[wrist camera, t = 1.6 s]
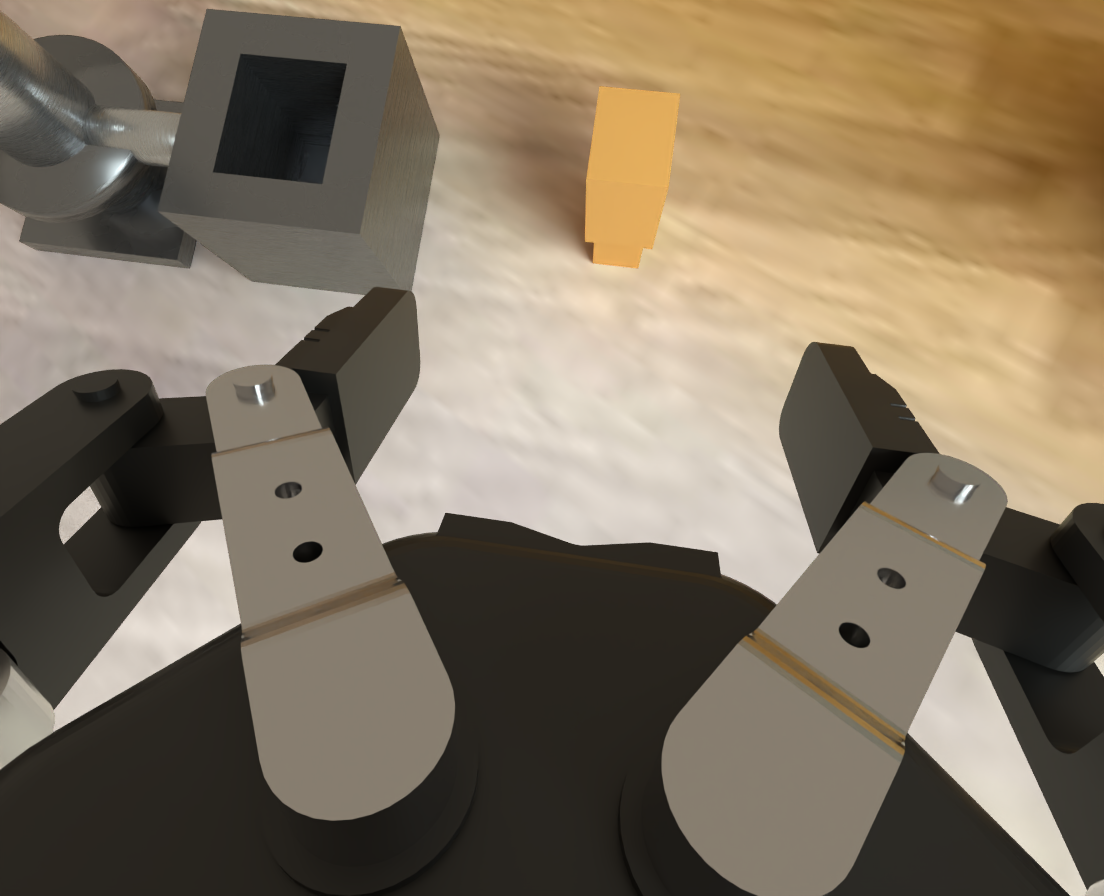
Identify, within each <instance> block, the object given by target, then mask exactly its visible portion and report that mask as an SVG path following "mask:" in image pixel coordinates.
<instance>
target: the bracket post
mask: <svg viewBox="0 0 1104 896" xmlns="http://www.w3.org/2000/svg"><path fill="white" fill-rule="evenodd" d="M438 141H439V132H438V130H437V127H436V124H435V121H434V119H433V116H432V113H431V110H430V107H429V105H428V102H427V99H426V96H425V93H424V91H423V88H422V85H421V82H420V79H419V77H418V74H417V71H416V68H415V66H414V63H413V60H412V57H411V54H410V52H409V49H408V46H407V43H406V40H405V38H404V35H403V32H402V29H401V26H393V25H382V24H370V23H359V22H348V21H337V20H325V19H314V18H303V17H292V16H281V15H269V14H258V13H247V12H236V11H224V10H213V9H207V10H206V14H205V18H204V22H203V26H202V30H201V34H200V39H199V43H198V47H197V51H196V55H195V59H194V63H193V67H192V71H191V75H190V80H189V84H188V88H187V92H186V96H185V100H184V103H181V102H171V101H161V100H154V99H153V97H152V95H151V93H150V91H149V89H148V88H147V86H146V85H145V83H144V82H143V81H142V80H141V79H140V77H139V76H138V75H137V74H136V73H135V72H134V71H133V70H132V69H131V68H130V67H129V66H128V65H127V64H126V63H125V62H124V61H123V60H122V59H121V58H120V57H119V56H118V55H117V54H115V53H114V52H113V51H112V50H110V49H109V48H107V47H106V46H104V45H102V44H100V43H98V42H96V41H94V40H90V39H87V38H84V37H79V36H72V35H54V36H46V37H41V38H37V39H32V38H31V37H30V36H29V35H28V34H27V33H26V32H25V31H23V30H22V29H21V28H20V27H19V26H18V25H17V24H16V23H14V22H13V21H12V20H11V19H10V18H9V17H8V16H7V15H5V14H4V13H3V12H2V11H1V10H0V203H1V204H3V205H5V206H7V207H8V208H10V209H12V210H14V211H16V212H18V213H20V214H22V215H24V216H26V218H25V222H24V226H23V229H22V233H21V237H20V240H19V241H20V242H22V243H24V244H26V245H28V246H29V247H31V248H33V249H35V250H40V251H48V252H57V253H65V254H73V255H82V256H90V257H98V258H107V259H115V260H123V261H132V262H140V263H148V264H157V265H165V266H173V267H182V268H190V266H191V262H192V257H193V253H194V249H195V244H196V240H197V241H198V242H199V243H201V244H202V245H203V246H205V247H206V248H207V249H209V250H210V251H212V252H213V253H214V254H216V255H217V256H218V257H220V258H221V259H222V260H224V261H225V262H226V263H228V264H229V265H230V266H232V267H233V268H234V269H236V270H237V271H238V272H240V273H241V274H243V275H244V276H245V277H247V278H248V279H249V280H251V281H254V282H262V283H270V284H278V285H287V286H295V287H303V288H312V289H320V290H328V291H336V292H345V293H353V294H361V295H366V294H367V293H368V292H369V291H370V290H371V289H372V288H373V287H383V288H391V289H399V290H407V291H411V290H412V285H413V279H414V273H415V268H416V262H417V257H418V251H419V246H420V240H421V235H422V229H423V224H424V218H425V213H426V207H427V202H428V196H429V191H430V185H431V180H432V174H433V169H434V163H435V158H436V152H437V147H438Z"/></svg>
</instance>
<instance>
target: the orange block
mask: <svg viewBox="0 0 1104 896" xmlns="http://www.w3.org/2000/svg"><path fill="white" fill-rule="evenodd" d="M679 100H680V94H677V93H667V92H656V91H645V90H635V89H624V88H613V87H603V86H600V88H599V94H598V101H597V108H596V115H595V122H594V129H593V136H592V143H591V150H590V157H589V164H588V170H587V177H586V215H585V242H593V243H594V251H593V263H596V264H605V265H613V266H622V267H631V268H638V267H639V263H640V258H641V254H642V250H643V248H646V249H652V248H653V244H654V240H655V236H656V233H657V229H658V225H659V221H660V218H661V214H662V210H663V206H664V202H665V199H666V195H667V191H668V187H669V179H670V171H671V163H672V155H673V147H674V140H675V132H676V124H677V116H678V108H679Z"/></svg>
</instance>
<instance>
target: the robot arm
mask: <svg viewBox="0 0 1104 896" xmlns="http://www.w3.org/2000/svg"><path fill="white" fill-rule="evenodd" d="M419 373H420V350H419V337H418V323H417V309H416V301H415V297H414V294H413V293H412V292H411V291H407V290H399V289H391V288H383V287H373V288H372V289H371V290H370V291H369V292H368V293H367V294H366V295H365V296H364V297H363V298H362V299H361V300H360V301H359V302H358V303H357V304H356V305H355V306H354V307H346V308H344V309H342V310H339V311H337V312H335V313H333V314H330V315H328V316H327V317H325V318H324V319H323V320H322V321H321V322H320V323H319V324H318V325H317V326H316V327H315V330H312V331H311V332H310V333H308V334H307V335H306V336H305V337H304V340H301V341H300V342H299V343H298V344H297V345H296V346H295V347H294V348H293V349H291V350H290V351H289V352H288V353H287V354H286V355H285V356H284V357H283V358H282V359H281V360H280V361H279V362H278V363H277V364H275V365H254V366H247V367H242V368H238V369H235V370H232V371H229V372H227V373H225V374H223V375H221V376H219V377H218V378H216V379H215V380H213V381H212V382H211V383H210V384H209V386H208V387H207V390H206V396H201V397H182V398H162V399H159V398H158V395H157V393H156V390H155V388H154V385H153V383H152V381H151V379H150V377H148V376H147V375H146V374H143V373H141V372H138V371H133V370H122V369H120V370H105V371H98V372H93V373H89V374H85V375H82V376H78V377H75V378H73V379H70V380H68V381H66V382H64V383H61V384H60V385H58V386H56V387H55V388H53V389H52V390H50V391H49V392H47V393H46V394H44V395H43V396H42V397H40V398H39V399H37V400H36V401H34V402H33V403H31V404H30V405H28V406H27V407H25V408H24V409H23V410H21V411H20V412H18V413H17V414H15V415H14V416H12V417H11V418H9V419H8V420H6V421H5V422H4V423H2V424H1V425H0V896H1070V895H1069V894H1068V893H1067V892H1066V891H1065V890H1064V889H1063V888H1062V887H1061V886H1060V885H1059V884H1058V883H1057V882H1056V881H1055V880H1054V879H1053V878H1052V877H1051V876H1050V875H1049V874H1048V873H1047V872H1046V871H1045V870H1044V869H1043V868H1042V867H1041V866H1040V865H1039V864H1038V863H1037V862H1036V861H1035V860H1034V859H1033V858H1032V857H1031V856H1030V855H1029V854H1028V853H1027V852H1026V851H1025V850H1024V849H1023V848H1022V847H1021V846H1020V845H1019V844H1018V843H1017V842H1016V841H1015V840H1014V839H1013V838H1012V837H1011V836H1010V835H1009V834H1008V833H1007V832H1006V831H1005V830H1004V829H1003V828H1002V827H1001V826H1000V825H999V824H998V823H997V822H996V821H995V820H994V819H993V818H992V817H991V816H990V815H989V814H988V813H987V812H986V811H985V810H984V809H983V808H982V807H981V806H980V805H979V804H978V803H977V802H976V801H975V800H974V799H973V798H972V797H971V796H970V795H969V794H968V793H967V792H966V791H965V790H964V789H963V788H962V787H961V786H960V785H959V784H958V783H957V782H956V781H955V780H954V779H953V778H952V777H951V776H950V775H949V774H948V773H947V772H946V771H945V770H944V769H943V768H942V767H941V766H940V765H939V764H938V763H937V762H936V761H935V760H934V759H933V758H932V757H931V756H930V755H929V754H928V753H927V752H926V751H925V750H924V749H923V748H922V747H921V746H920V745H919V744H918V743H917V742H916V741H915V740H914V739H913V738H912V737H911V736H910V735H909V734H908V733H907V732H908V730H909V727H910V725H911V723H912V721H913V719H914V717H915V715H916V713H917V711H918V709H919V706H920V704H921V702H922V700H923V698H924V696H925V694H926V692H927V690H928V688H929V686H930V683H931V681H932V679H933V677H934V675H935V673H936V671H937V669H938V667H939V665H940V662H941V660H942V658H943V656H944V654H945V652H946V650H947V648H948V646H949V644H950V642H951V639H952V637H953V635H954V633H955V632H958V633H960V634H963V635H966V636H968V637H971V638H972V640H973V643H974V646H975V648H976V650H977V652H978V654H979V656H980V659H981V661H982V663H983V665H984V667H985V669H986V672H987V674H988V676H989V678H990V680H991V682H992V685H993V687H994V689H995V691H996V693H997V695H998V698H999V700H1000V702H1001V704H1002V706H1003V709H1004V711H1005V713H1006V715H1007V717H1008V719H1009V722H1010V724H1011V726H1012V728H1013V730H1014V732H1015V735H1016V737H1017V739H1018V741H1019V743H1020V745H1021V748H1022V750H1023V752H1024V754H1025V756H1026V758H1027V761H1028V763H1029V765H1030V767H1031V769H1032V772H1033V774H1034V776H1035V778H1036V780H1037V782H1038V785H1039V787H1040V789H1041V791H1042V793H1043V795H1044V798H1045V800H1046V802H1047V804H1048V806H1049V808H1050V811H1051V813H1052V815H1053V817H1054V819H1055V821H1056V824H1057V826H1058V828H1059V830H1060V832H1061V834H1062V837H1063V839H1064V841H1065V843H1066V845H1067V848H1068V850H1069V852H1070V854H1071V856H1072V858H1073V861H1074V863H1075V865H1076V867H1077V869H1078V871H1079V874H1080V876H1081V878H1082V880H1083V882H1084V884H1085V887H1086V889H1087V892H1086V894H1085V896H1104V677H1103V675H1102V674H1101V672H1100V670H1099V669H1098V667H1097V666H1096V664H1095V663H1094V661H1095V660H1096V659H1097V658H1098V657H1100V656H1101V655H1102V654H1103V653H1104V504H1099V503H1085V504H1081V505H1078V506H1077V507H1075V508H1074V509H1073V511H1072V512H1071V513H1070V514H1069V515H1068V516H1067V518H1066V519H1065V520H1064V521H1063V522H1062V523H1061V524H1056V523H1053V522H1050V521H1047V520H1044V519H1041V518H1038V517H1035V516H1031V515H1028V514H1025V513H1022V512H1019V511H1016V510H1013V509H1010V508H1007V507H1006V506H1007V502H1008V500H1007V495H1006V493H1005V491H1004V490H1003V488H1002V487H1001V486H1000V485H999V484H998V483H997V482H996V481H995V480H994V479H993V478H992V477H991V476H989V475H988V474H986V473H985V472H983V471H982V470H980V469H978V468H977V467H975V466H973V465H971V464H969V463H967V462H964V461H962V460H959V459H956V458H953V457H950V456H946V455H942V454H939V452H938V451H937V449H936V448H935V446H934V445H933V443H932V442H931V440H930V439H929V437H928V436H927V435H926V433H925V432H924V430H923V429H922V427H921V426H920V424H919V423H918V422H916V421H915V417H914V415H913V414H912V412H911V411H910V410H909V408H906V406H907V405H906V404H905V402H904V401H903V399H902V398H901V396H900V395H899V393H898V392H897V390H896V389H895V388H893V387H892V386H891V385H889V384H888V383H887V382H885V381H884V380H883V379H881V378H880V377H878V376H877V375H876V374H871V373H870V372H869V370H868V368H867V367H866V365H865V364H864V362H863V361H862V359H861V357H860V356H859V354H858V353H857V351H856V350H855V348H854V347H851V346H843V345H835V344H827V343H819V342H812V343H811V344H809V346H808V347H807V348H806V350H805V352H804V354H803V357H802V360H801V362H800V365H799V367H798V370H797V373H796V375H795V378H794V380H793V383H792V386H791V388H790V391H789V393H788V396H787V399H786V401H785V404H784V406H783V409H782V413H781V417H780V424H779V435H780V440H781V443H782V446H783V449H784V452H785V455H786V458H787V462H788V465H789V468H790V471H791V474H792V477H793V480H794V483H795V486H796V489H797V492H798V495H799V498H800V502H801V505H802V508H803V511H804V514H805V517H806V520H807V523H808V526H809V529H810V532H811V535H812V538H813V542H814V545H815V548H816V551H817V553H820V554H819V555H818V556H817V558H816V559H815V560H814V561H813V562H812V564H811V565H810V566H809V567H808V568H807V570H806V571H805V572H804V573H803V574H802V576H801V577H800V578H799V579H798V580H797V582H796V583H795V584H794V585H793V586H792V588H791V589H790V590H789V591H788V592H787V593H786V595H785V596H784V597H783V598H782V599H781V601H780V602H779V603H778V604H775V603H774V602H773V601H771V600H770V599H768V598H767V597H765V596H764V595H762V594H761V593H759V592H758V591H756V590H754V589H752V588H751V587H749V586H747V585H745V584H743V583H741V582H739V581H737V580H734V579H732V578H730V577H727V576H725V575H722V574H721V573H720V566H719V558H718V552H711V551H704V550H697V549H691V548H684V547H677V546H670V545H663V544H656V543H629V544H609V545H588V546H580V545H575V544H571V543H568V542H565V541H563V540H560V539H557V538H554V537H551V536H548V535H546V534H543V533H540V532H537V531H534V530H531V529H529V528H526V527H523V526H520V525H517V524H514V523H512V522H506V521H499V520H492V519H485V518H478V517H471V516H465V515H458V514H451V513H445V515H444V518H443V520H442V523H441V525H440V528H439V530H438V532H432V533H423V534H416V535H411V536H407V537H403V538H398V539H395V540H392V541H389V542H386V543H383V544H382V543H381V541H380V539H379V537H378V534H377V532H376V530H375V528H374V526H373V523H372V521H371V519H370V517H369V514H368V512H367V510H366V508H365V505H364V503H363V501H362V499H361V497H360V494H359V492H358V490H357V488H356V483H357V482H358V480H359V478H360V477H361V475H362V474H363V472H364V470H365V469H366V467H367V465H368V464H369V462H370V461H371V459H372V457H373V456H374V454H375V453H376V451H377V449H378V448H379V446H380V444H381V443H382V441H383V440H384V438H385V436H386V435H387V433H388V431H389V430H390V428H391V427H392V425H393V423H394V422H395V420H396V419H397V417H398V415H399V414H400V412H401V410H402V409H403V407H404V406H405V404H406V402H407V401H408V399H409V398H410V396H411V394H412V393H413V391H414V389H415V387H416V385H417V382H418V378H419ZM89 486H90V487H91V489H92V491H93V493H94V494H95V496H96V498H97V500H98V502H99V503H100V505H101V508H100V509H99V510H98V511H97V512H96V513H95V514H94V515H93V516H92V517H91V518H90V519H89V520H88V521H87V522H86V523H85V524H84V525H83V526H82V527H81V528H80V529H79V530H78V531H77V532H76V533H75V534H74V535H73V536H72V537H71V538H70V539H69V540H68V541H67V542H66V543H65V544H64V545H63V543H62V541H61V539H60V535H59V524H60V520H61V517H62V515H63V513H64V511H65V509H66V508H67V507H68V506H69V505H70V503H72V502H73V501H74V500H75V499H76V498H77V497H78V496H79V495H80V494H81V493H82V492H83V491H85V490H86V489H87V488H88V487H89ZM219 519H223V525H224V530H225V536H226V541H227V547H228V553H229V558H230V564H231V569H232V575H233V581H234V586H235V592H236V597H237V603H238V609H239V614H240V620H241V624H239V625H237V626H236V627H234V628H232V629H231V630H229V631H227V632H225V633H224V634H222V635H220V636H218V637H217V638H215V639H213V640H212V641H210V642H208V643H206V644H205V645H203V646H201V647H199V648H198V649H196V650H194V651H193V652H191V653H189V654H187V655H186V656H184V657H182V658H181V659H179V660H177V661H175V662H174V663H172V664H170V665H168V666H167V667H165V668H163V669H162V670H160V671H158V672H156V673H155V674H153V675H151V676H149V677H148V678H146V679H144V680H143V681H141V682H139V683H137V684H136V685H134V686H132V687H131V688H129V689H127V690H125V691H124V692H122V693H120V694H118V695H117V696H115V697H113V698H112V699H110V700H108V701H106V702H105V703H103V704H101V705H99V706H98V707H96V708H94V709H93V710H91V711H89V712H87V713H86V714H84V715H82V716H81V717H79V718H77V719H75V720H74V721H72V722H70V723H68V724H67V725H65V726H63V727H62V728H60V729H58V730H56V731H55V732H53V728H54V724H55V714H54V711H53V710H54V709H55V708H56V707H57V705H58V704H59V703H60V702H61V700H62V699H63V698H64V696H65V695H66V694H67V693H68V691H69V690H70V689H71V688H72V686H73V685H74V684H75V682H76V681H77V680H78V679H79V677H80V676H81V675H82V674H83V672H84V671H85V670H86V668H87V667H88V666H89V665H90V663H91V662H92V661H93V660H94V658H95V657H96V656H97V654H98V653H99V652H100V651H101V649H102V648H103V647H104V646H105V644H106V643H107V642H108V640H109V639H110V638H111V637H112V635H113V634H114V633H115V631H116V630H117V629H118V628H119V626H120V625H121V624H122V623H123V621H124V620H125V619H126V617H127V616H128V615H129V614H130V612H131V611H132V610H133V609H134V607H135V606H136V605H137V603H138V602H139V601H140V600H141V598H142V597H143V596H144V595H145V593H146V592H147V591H148V589H149V588H150V587H151V586H152V584H153V583H154V582H155V581H156V579H157V578H158V577H159V575H160V574H161V573H162V572H163V570H164V569H165V568H166V567H167V565H168V564H169V563H170V561H171V560H172V559H173V558H174V556H175V555H176V554H177V552H178V551H179V550H180V549H181V547H182V546H183V545H184V544H185V542H186V541H187V540H188V538H189V537H190V536H191V535H192V533H193V532H194V531H195V530H196V528H197V527H198V526H199V524H200V523H201V521H208V520H219ZM52 732H53V733H52Z"/></svg>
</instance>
